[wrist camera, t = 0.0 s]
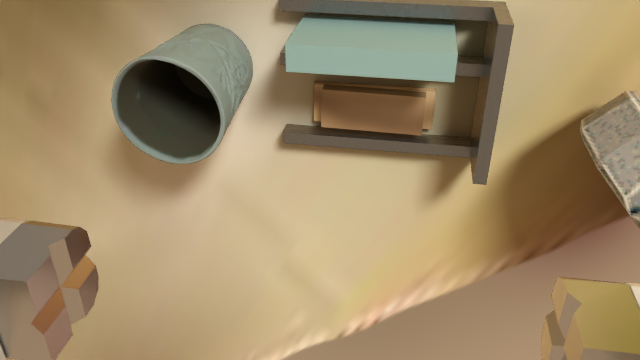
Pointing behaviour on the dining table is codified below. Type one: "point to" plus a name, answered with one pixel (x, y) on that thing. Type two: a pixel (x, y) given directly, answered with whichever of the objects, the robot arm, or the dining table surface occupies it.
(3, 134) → the dining table surface
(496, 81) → the offcut rack
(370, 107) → the offcut walnut
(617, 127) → the decorative stone tablet
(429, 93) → the offcut oak
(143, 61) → the grey-green bin
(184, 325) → the dining table surface
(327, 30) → the teal sheet
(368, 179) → the dining table surface
